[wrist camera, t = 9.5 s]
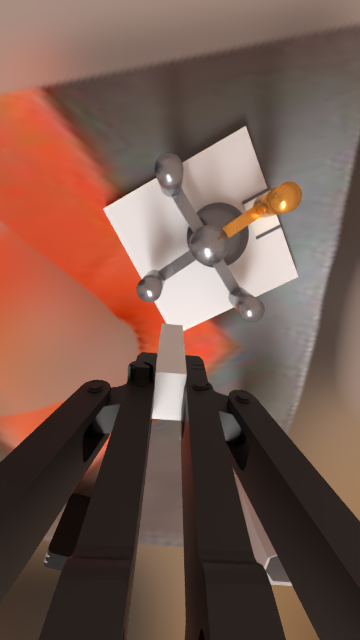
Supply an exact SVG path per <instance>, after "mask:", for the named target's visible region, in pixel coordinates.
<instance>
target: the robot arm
mask: <svg viewBox="0 0 360 640" xmlns="http://www.w3.org/2000/svg"><path fill="white" fill-rule="evenodd" d="M181 415H182V421H181ZM152 419H166V420H180V421H181V428H180V436H179V440H181V463H182V499H183V535H184V571H185V607H186V626H185V640H286V638H285V635H284V631H283V627H282V624H281V620H280V616H279V613H278V609H277V605H276V602H275V598H274V594H273V591H272V587H271V584H270V581H269V578H268V575H267V572H266V570H265V568H264V567H263V565H262V564H260V563H258V562H257V561H256V559H255V557H254V553H253V550H252V546H251V542H250V537H249V533H248V529H247V525H246V521H245V517H244V513H243V509H242V505H241V501H240V497H239V493H238V488H237V484H236V480H235V476H234V472H233V469H234V471H235V473H236V475H237V477H238V479H239V481H240V483H241V485H242V487H243V489H244V491H245V493H246V495H247V497H248V499H249V501H250V502H251V504H252V506H253V508H254V510H255V512H256V514H257V516H258V518H259V520H260V522H261V524H262V526H263V528H264V530H265V532H266V534H267V536H268V538H269V540H270V542H271V544H272V546H273V548H274V550H275V552H276V554H277V556H278V558H279V560H280V562H281V564H282V566H283V568H284V570H285V572H286V574H287V576H288V578H289V580H290V582H291V584H292V586H293V588H294V590H295V592H296V594H297V596H298V598H299V600H300V602H301V603H302V606H303V608H304V610H305V611H306V613H307V615H308V617H309V619H310V621H311V623H312V625H313V627H314V629H315V631H316V633H317V635H318V637H319V639H320V640H360V521H359V520H358V519H357V518H356V517H355V515H354V514H353V513H352V512H351V511H350V509H349V508H348V507H347V506H346V505H345V503H344V502H343V501H342V500H341V499H340V498H339V496H338V495H337V494H336V493H335V492H334V490H333V489H332V488H331V487H330V486H329V484H328V483H327V482H326V481H325V480H324V478H323V477H322V476H321V475H320V474H319V473H318V471H317V470H316V469H315V468H314V467H313V465H312V464H311V463H310V462H309V461H308V460H307V458H306V457H305V456H304V455H303V454H302V452H301V451H300V450H299V449H298V448H297V446H296V445H295V444H294V443H293V442H292V440H291V439H290V438H289V437H288V436H287V435H286V433H285V432H284V431H283V430H282V429H281V427H280V426H279V425H278V424H277V423H276V421H275V420H274V419H273V418H272V417H271V416H270V414H269V413H268V412H267V411H266V410H265V408H264V407H263V406H262V405H261V404H260V402H259V401H258V400H257V399H256V398H255V397H254V396H253V395H252V394H250V393H248V392H246V391H243V390H233V391H231V392H230V393H229V396H226V395H223V394H220V393H217V392H215V391H214V390H213V387H212V385H211V384H210V383H209V382H208V380H207V376H206V371H205V367H204V362H203V360H202V359H201V358H200V357H199V356H188V355H185V348H184V337H183V325H174V324H163V323H162V326H161V334H160V341H159V348H158V354H157V353H145V352H142V353H141V354H139V355H138V356H137V360H136V361H134V362H132V363H130V364H129V366H128V381H127V384H125V385H122V386H119V387H113V388H111V387H110V384H109V383H108V382H106V381H103V380H92V381H89V382H86V383H85V384H83V385H82V386H81V387H80V388H79V389H78V390H77V391H76V392H75V393H73V394H72V395H71V396H70V397H69V398H68V399H67V400H66V401H65V402H64V403H63V404H62V405H61V406H60V407H59V408H58V409H56V410H55V411H54V412H53V413H52V414H51V415H50V416H49V417H48V418H47V419H46V420H45V421H44V422H43V423H42V424H41V425H40V426H38V427H37V428H36V429H35V430H34V431H33V432H32V433H31V434H30V435H29V436H28V437H27V438H26V439H25V440H24V441H23V442H22V443H20V444H19V445H18V446H17V447H16V448H15V449H14V450H13V451H12V452H11V453H10V454H9V455H8V456H7V457H6V458H5V459H4V460H2V461H1V462H0V604H1V603H2V601H3V600H4V598H5V597H6V595H7V594H8V592H9V590H10V589H11V587H12V586H13V584H14V583H15V581H16V580H17V578H18V577H19V575H20V573H21V572H22V570H23V569H24V567H25V566H26V564H27V562H28V561H29V560H30V558H31V556H32V555H33V553H34V552H35V550H36V549H37V547H38V546H39V544H40V542H41V541H42V539H43V538H44V536H45V535H46V533H47V532H48V530H49V529H50V527H51V525H52V524H53V522H54V521H55V519H56V518H57V516H58V515H59V513H60V512H61V510H62V508H63V507H64V505H65V504H66V502H67V501H68V499H69V498H70V496H71V495H72V493H73V491H74V490H75V488H76V487H77V485H78V484H79V482H80V481H81V479H82V477H83V476H84V474H85V473H86V471H87V470H88V468H89V467H90V465H91V464H92V462H93V460H94V459H95V457H96V456H97V454H98V453H99V451H100V450H101V448H102V447H103V445H104V443H105V442H106V440H107V439H108V437H109V435H110V433H111V435H110V439H109V442H108V445H107V448H106V451H105V455H104V458H103V461H102V464H101V467H100V471H99V474H98V477H97V480H96V483H95V487H94V490H93V493H92V496H91V499H90V503H89V506H88V509H87V512H86V516H85V519H84V522H83V525H82V528H81V532H80V535H79V538H78V541H77V544H76V547H75V550H74V552H73V554H72V556H70V557H69V558H68V559H67V561H66V563H65V564H64V567H63V569H62V572H61V575H60V577H59V580H58V583H57V586H56V590H55V592H54V595H53V598H52V601H51V604H50V607H49V610H48V613H47V617H46V619H45V622H44V626H43V628H42V632H41V635H40V638H39V640H127V633H128V623H129V613H130V605H131V596H132V588H133V578H134V571H135V562H136V553H137V545H138V536H139V528H140V519H141V510H142V502H143V493H144V484H145V476H146V467H147V459H148V450H149V441H150V433H151V423H152ZM232 467H233V468H232Z"/></svg>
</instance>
